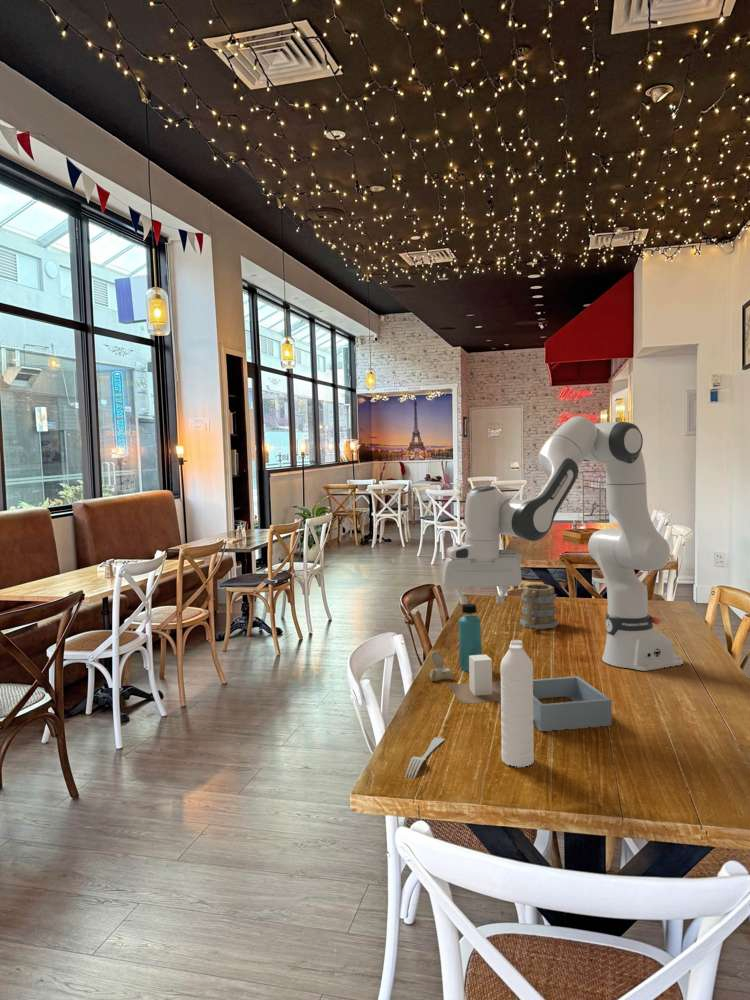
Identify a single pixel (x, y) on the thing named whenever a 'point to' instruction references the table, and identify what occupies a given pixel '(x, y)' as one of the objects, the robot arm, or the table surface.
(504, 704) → the water bottle
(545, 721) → the slate bin
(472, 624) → the beverage bottle
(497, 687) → the walnut base
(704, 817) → the table surface
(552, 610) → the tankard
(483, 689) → the ivory rectangular pillar
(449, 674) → the bone
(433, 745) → the fork
